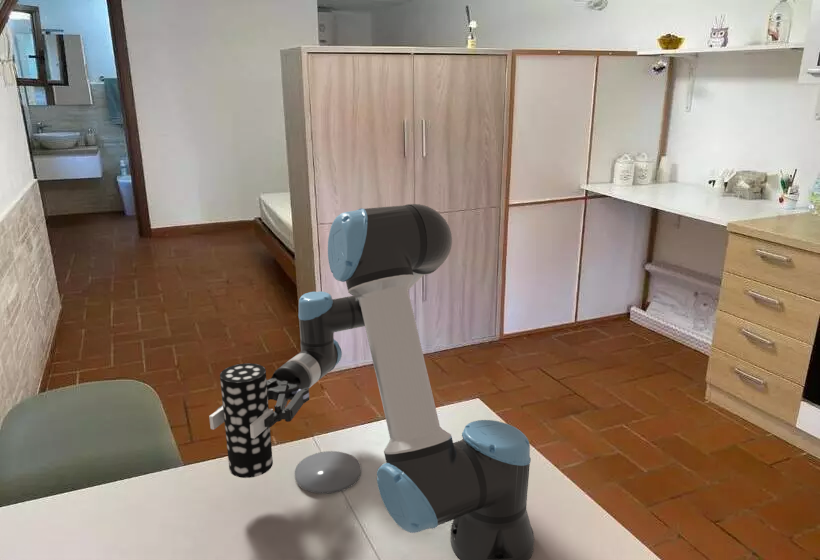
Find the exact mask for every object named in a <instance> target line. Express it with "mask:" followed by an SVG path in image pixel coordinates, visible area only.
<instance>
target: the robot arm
mask: <svg viewBox="0 0 820 560" xmlns="http://www.w3.org/2000/svg"><path fill="white" fill-rule="evenodd" d="M452 234H453V233H452V231H451V228H450V226H449V224H448V222H447V220H446V219H445V218H444V216H442V214H441V213H440V212H438V211H437V210H435V209H434V208H432V207H430V206H428V205H424V204H420V203H417V204H416V203H410V204H405V205H392V206H383V207H382V206H381V207H379V206H378V207H370V208H368V207H367V208H362V207H361V208H359V209H357V210H356V209H355V210H350V211H344V212H341V213H340V214H338V215H337V216H336V217H335V219H334V220H333V221H332V224H331V226H330V230H329V235H328V239H327V260H328V265H329V270H330V272H331V273H332V276H333V278H334V279H335V280H336V281H339V282H341V283H346V288H347V292H348V293H349V295H350V296H345V297H339V298H334V299H333V298H332V295H331V294H330V293H328V292H326V291H320V290H319V291H309V292H306V293H303V294H302V295H301V296H300V298H299V299H298V323H299V324H298V325H299V338H300V352H299V353H297V354H296V355H295V356H293V357H292V358H290V359H289V360H287V361H286V362H285V363H284V364H282V365H281V366H279V367H277V369H276V370H275V371H274V372H273V374H272V376H271V377H270V378H269V379H266V381H267V394H268V401H270V400H273V401H275V402H276V403H275V405H274V406H273V407H274V409H273V408H269V410H267V411H266V412H265V413H264V414H262V415H261V416H260V417H259V418H258V419H256V420H255V421H254V422H253V423H251V424H250V433H251V438H254V439H255V438H256V437H257V436H258V435H259V434H261V433H262V432H263V431H264V430H265V429H266V428H269V427H270V428H272V427H273V426H274V425H275V424H277V422H281V421H282V420H284V421H285V422H287V423H289V422H291V421H292V420H293V418H295V416H296V415H297V414H298V412H299V410H300V409H301V408H302V407H303V405H304V404H306V403H307V402H308V401H309V400H310V388H311V387H312V386H314V385H315V384H316V383H317V382H319V380H321V379H322V378H323V377H325V376H326V375H327V374H328V373H330V372H331V371H333V370H334V369H335V367H336V366H337V365H338V364H339V363H340V361H341V359H342V357H343V356H342V355H343V352H342V348H341V346H340V345H339V342H338V341H337V340H336V339H334V336H335V335H334V334H335V333H337V332H342V331H348V330H352V329H358V328H365V332H366V337H367V342H368V345H369V350H370V354H371V358H372V359H371V360H372V365H373V368H374V371H375V377H376V381H377V386H378V390H379V395H380V399H381V403H382V404H381V405H382V407H383V408H382V409H383V413H384V417H385V422H386V426H387V431H388V435H389V442H388V443H387V445H386V446H385V448H384V450H383V454H384V458H385V462H386V463H382V464H381V465H380V466H379V467H378V469H377V472H376V477H377V478H376V481H377V482H376V483H377V489H378V491H379V495H380V497H381V500H382V503H383V505H384V507H385V509H386V511H387V512H388V514H389V515H390V517H391V518H392V520H393V521H394V522H395V523H396V525H397V526H398V527H400V528H401V530H403V531H405V532H408V533H411V534H413V533H414V534H415V533H421V532H423V531H426V530H428V529H431V530H432V529H436V528H437V527H438V526H440V525H442V524H446V523H448V522H450V521H452V523H451V526H450V539H449V540H450V546H451V549H452V550H453V552H454V554H455V555H456V556H457V557H458V558H459V560H530V559H531V558H532V556H533V553H534V550H535V549H534V547H535V534H534V530H533V528H532V524H531V521H530V518H529V514H528V510H527V503H528V502H527V501H528V488H529V475H530V468H531V467H530V464H531V460H532V459H531V455H530V454H531V453H530V452H531V451H530V450H531V446H530V440H529V439H528V437H527V436H526V434H524V433H523V432H522V431H521V430H520V429H518V428H517V427H515V426H514V425H512V424H511V425H510V424H509V423H506V422H502V421H498V420H493V419H480V420H474V421H471V422H469V423H467V424H466V425H465V427H464V428H463V430H462V433H461V437H462V439H461V440H458V441H455V442H454V440H453V437H452V434H451V433H449V432H448V431H447V430H445V429H443V428H442V427H441V425H440V420H439V417H438V413H437V407H436V405H435V399H434V394H433V391H432V387H431V382H430V377H429V374H428V369H427V365H426V361H425V358H424V357H425V356H424V353H423V348H422V345H421V344H422V343H421V339H420V335H419V331H418V330H419V329H418V328H417V322H416V318H415V315H414V314H415V313H414V311H413V310H414V309H413V307H412V306H413V305H412V302H411V298H410V293H409V290H411V288H412V287H413V286H415V284H416V283H417V282H418V281H419V280H420V279H421V278H422V277H423V276H426V275H430V274H433V273H434V272H436V271H437V270H438V269H439V268H440V267H441V266H442V265H443V264H444V263H445V261H446V260H447V258H448V257H449V255H450V252H451V249H452V244H453V236H452ZM289 400H290V401H289ZM221 401H222V400H221ZM208 416H209V417H208V418H209V419H208V420H209V425H210V430H215V429H217V428H218V427H220V426H222V425H223V424H224V423H225V421H224V411H223V401H222V404H221V406H219V407H218V408H217V409H216V410H215V411H214V412H213V413H211V414H210V415H208Z"/></svg>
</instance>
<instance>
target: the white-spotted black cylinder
mask: <svg viewBox="0 0 820 560" xmlns="http://www.w3.org/2000/svg"><path fill="white" fill-rule="evenodd" d="M219 379H220V380H219V381H220V388H221V389H220V391H221V401H223V403H222V405H223V411H224V421H225V422H224V429H225V439H226V449H227V458H228V460H227V461H228V469H229V472H230V474H232V475H233V476H235V477H237V478H241V479H251V478H256V477H259V476H261V475H262V476H263V475H264V474H266V473H267V472H268V471H270V470H271V468H272V467H273V465H274V463H273V462H274V460H273V448H272V435H271V427H269V428H266V429H265V430H264V431H263V432H262V433H261V434H259V435H258V436H257V437H256V438H255V439H254V438H251V433H250V424H251V423H253V422H254V421H255V420H256V419H258V418H259V417H260V416H261V415H262V414H264V413H265V412H266V411H267V410H269V409H270V407H269V400H268V394H267V381H266V380H267V371H266V368H265V367H264V366H263V365H261V364H258V363H250V362H249V363H239V364H234V365H231V366H228V367H226V368H224V369H223V370H222V371H220V375H219Z"/></svg>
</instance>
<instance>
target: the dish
mask: <svg viewBox="0 0 820 560" xmlns="http://www.w3.org/2000/svg"><path fill="white" fill-rule="evenodd" d="M361 467H362V466H361V463H360V461H359V460H358V459H357V458H356V457H355V456H353V455H351V454H349V453H346V452H344V451H343V452H342V451H335V450H330V451H329V450H328V451H327V450H326V451H322V452H321V451H320V452H316V453H313V454H311V455H308V456H306V457H305V458H303V459H302V460H301V461H299V463H297V465H296V467H295V469H294V479H295V482H296V483H297V485H298V486H299V487H300V488H302V489H303V490H305V491H307V492H311V493H315V494H334V493H339V492H342V491H344V490H346V489H349V488H350V487H353V485H355V484H356V483H357V482H358V481H359V479H360V477H361V473H362V469H361Z"/></svg>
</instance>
